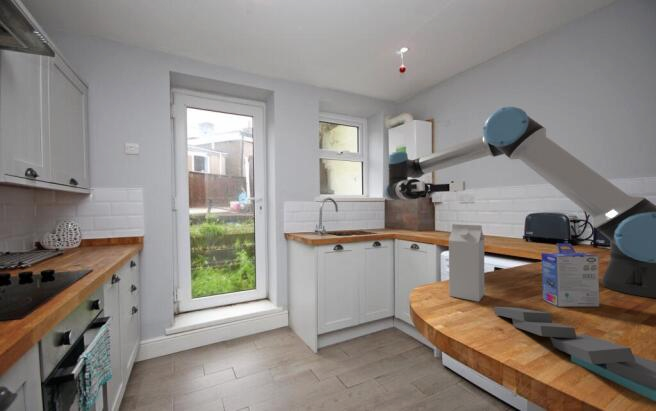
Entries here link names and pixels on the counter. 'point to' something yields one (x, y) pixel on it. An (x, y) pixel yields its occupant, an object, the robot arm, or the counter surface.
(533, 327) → the domino
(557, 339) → the domino
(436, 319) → the counter surface
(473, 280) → the milk carton
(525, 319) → the domino
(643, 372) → the domino
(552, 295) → the ink cartridge box
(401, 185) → the robot arm
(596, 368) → the domino
